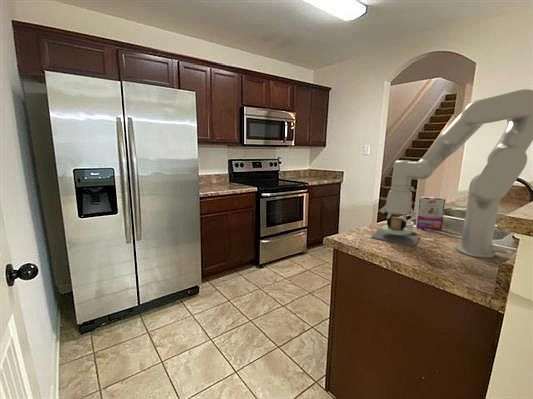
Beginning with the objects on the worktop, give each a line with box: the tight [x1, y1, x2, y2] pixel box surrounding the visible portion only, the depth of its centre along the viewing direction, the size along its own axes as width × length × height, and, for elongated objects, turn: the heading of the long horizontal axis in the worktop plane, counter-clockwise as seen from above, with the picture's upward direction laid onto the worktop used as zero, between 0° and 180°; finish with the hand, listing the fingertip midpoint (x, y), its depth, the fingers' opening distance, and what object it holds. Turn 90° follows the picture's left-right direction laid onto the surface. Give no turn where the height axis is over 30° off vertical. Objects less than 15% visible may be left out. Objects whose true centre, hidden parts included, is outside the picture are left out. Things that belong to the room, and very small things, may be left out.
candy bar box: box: [415, 195, 446, 232], centre depth 135 cm, size 11×5×16 cm, turn 68°
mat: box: [371, 229, 420, 248], centre depth 122 cm, size 18×13×1 cm
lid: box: [380, 216, 411, 235], centre depth 121 cm, size 12×12×6 cm
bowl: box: [406, 219, 415, 235], centre depth 132 cm, size 11×11×5 cm
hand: (395, 227), depth 121 cm, fingers closed on lid, 5 cm apart
